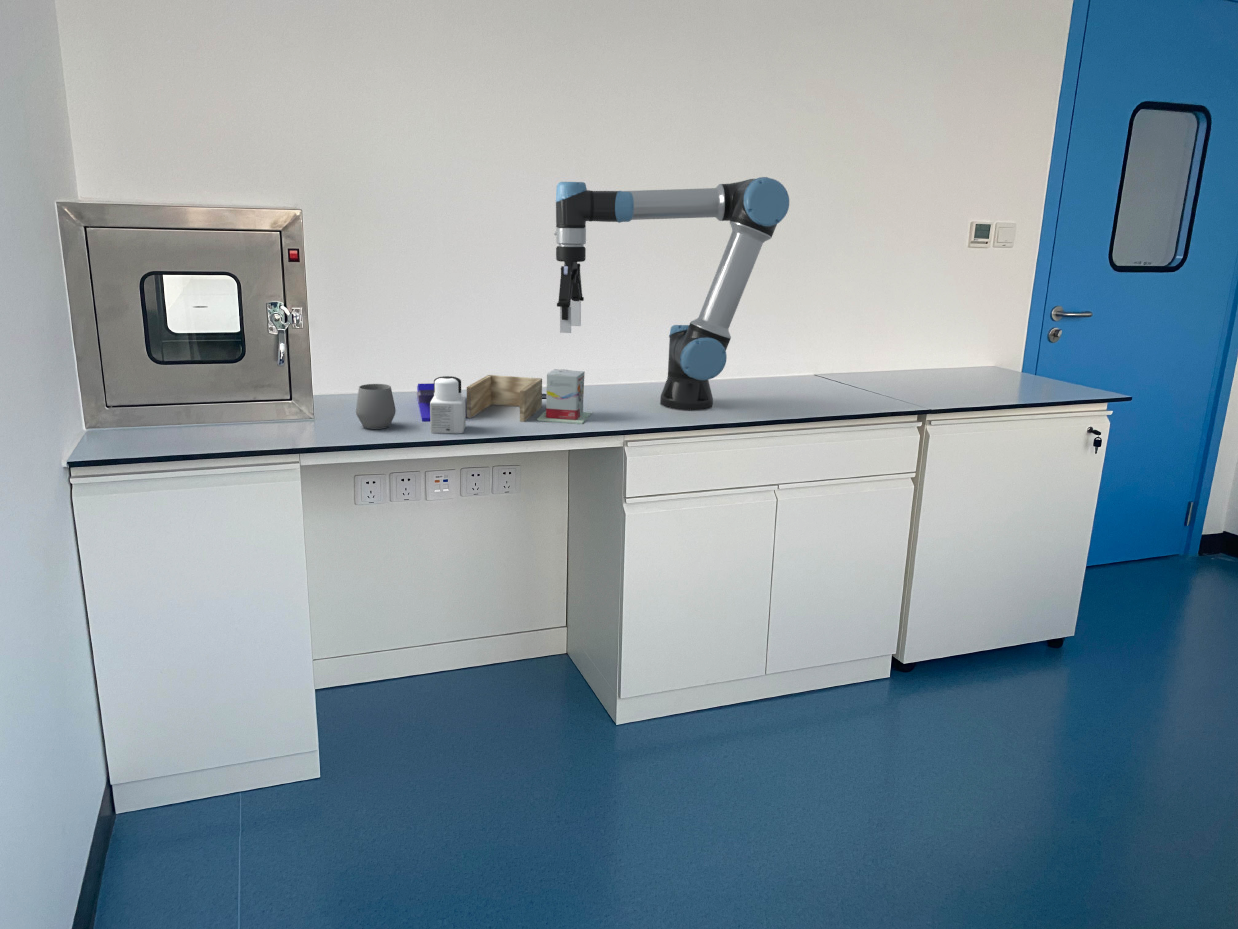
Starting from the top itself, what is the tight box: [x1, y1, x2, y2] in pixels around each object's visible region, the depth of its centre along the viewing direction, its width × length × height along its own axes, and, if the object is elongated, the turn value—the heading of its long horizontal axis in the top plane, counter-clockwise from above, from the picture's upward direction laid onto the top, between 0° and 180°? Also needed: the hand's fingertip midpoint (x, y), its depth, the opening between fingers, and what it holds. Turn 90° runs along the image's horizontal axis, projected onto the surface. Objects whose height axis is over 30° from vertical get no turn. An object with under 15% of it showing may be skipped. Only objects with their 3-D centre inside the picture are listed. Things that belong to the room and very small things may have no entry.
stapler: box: [416, 382, 434, 422], centre depth 235 cm, size 12×28×10 cm, turn 15°
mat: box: [536, 411, 592, 425], centre depth 232 cm, size 12×12×1 cm
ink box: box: [545, 368, 586, 420], centre depth 231 cm, size 9×9×12 cm
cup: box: [355, 383, 397, 430], centre depth 214 cm, size 10×9×10 cm
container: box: [430, 375, 467, 434], centre depth 214 cm, size 8×8×13 cm
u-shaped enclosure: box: [466, 374, 543, 422], centre depth 235 cm, size 15×18×8 cm
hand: (570, 329), depth 229 cm, fingers open, 13 cm apart
